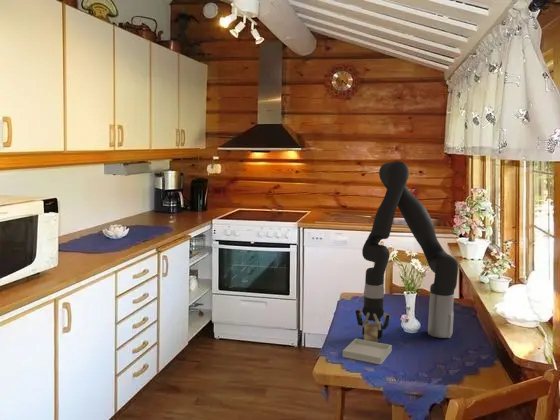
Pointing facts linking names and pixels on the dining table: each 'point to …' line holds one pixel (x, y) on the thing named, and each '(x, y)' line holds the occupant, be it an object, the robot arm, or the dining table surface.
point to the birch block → (371, 332)
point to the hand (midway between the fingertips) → (372, 337)
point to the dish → (367, 351)
